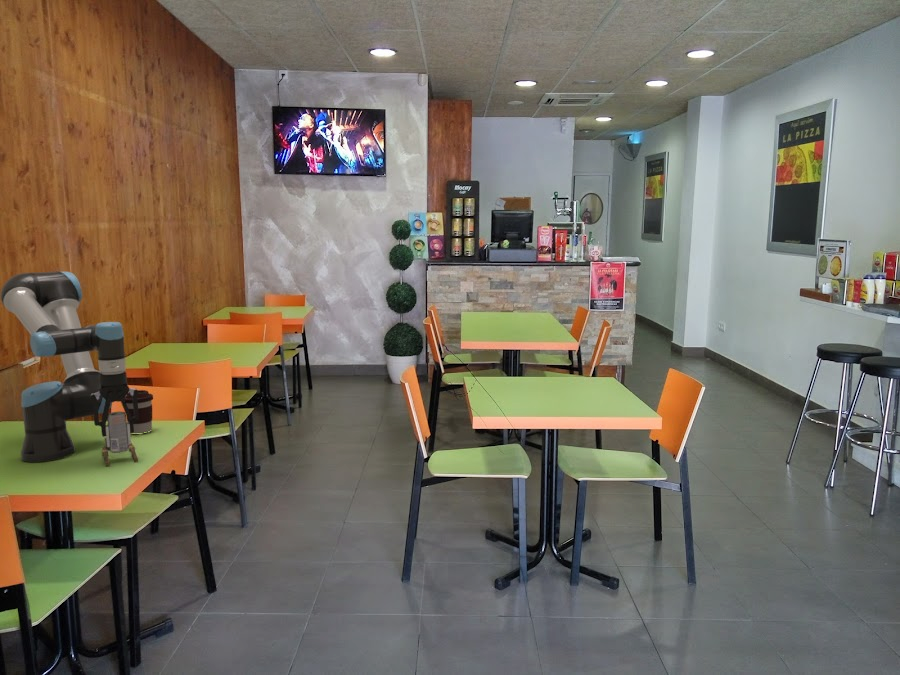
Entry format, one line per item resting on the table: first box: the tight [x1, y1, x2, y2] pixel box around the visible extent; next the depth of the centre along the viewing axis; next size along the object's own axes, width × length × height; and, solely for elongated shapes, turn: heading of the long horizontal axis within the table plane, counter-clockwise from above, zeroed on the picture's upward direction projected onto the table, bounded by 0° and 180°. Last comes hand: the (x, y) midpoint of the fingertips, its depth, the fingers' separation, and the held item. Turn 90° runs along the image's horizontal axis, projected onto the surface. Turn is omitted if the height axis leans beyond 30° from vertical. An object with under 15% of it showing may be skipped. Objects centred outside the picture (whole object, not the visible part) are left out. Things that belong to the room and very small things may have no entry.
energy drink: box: [106, 411, 129, 454], centre depth 219 cm, size 5×5×12 cm
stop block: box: [104, 436, 110, 451], centre depth 233 cm, size 7×2×4 cm, turn 119°
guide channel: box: [101, 442, 139, 468], centre depth 224 cm, size 10×20×1 cm, turn 29°
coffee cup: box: [124, 389, 154, 433], centre depth 251 cm, size 10×10×15 cm
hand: (119, 444), depth 220 cm, fingers closed on energy drink, 5 cm apart
